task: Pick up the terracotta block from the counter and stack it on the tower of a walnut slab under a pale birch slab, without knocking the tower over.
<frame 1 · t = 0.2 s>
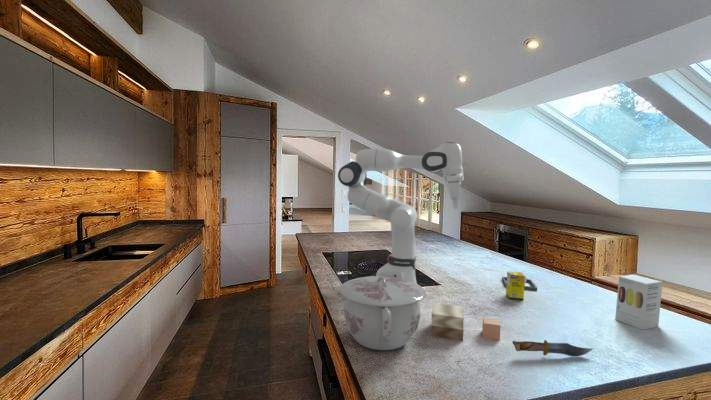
hand: (455, 207, 152), 39 cm above the worktop, tool pointing down, fingers open, 8 cm apart
teacup: (517, 285, 165), resting in grey square frame
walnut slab: (447, 333, 113), on the worktop, touching birch slab
chamber pot: (380, 340, 106), on the worktop
terracotta block: (490, 335, 111), on the worktop
knife: (552, 357, 98), on the worktop
supplement box 2: (636, 323, 122), on the worktop
birch slab: (447, 321, 113), point 4 cm above the worktop, touching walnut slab
grey square frame: (518, 284, 165), on the worktop
supplement box: (514, 297, 147), on the worktop
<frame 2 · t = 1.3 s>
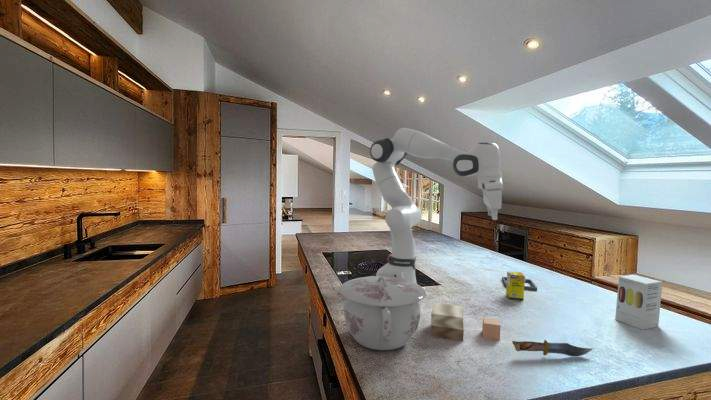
hand: (492, 217, 132), 37 cm above the worktop, tool pointing down, fingers open, 8 cm apart
nothing on the worktop moved.
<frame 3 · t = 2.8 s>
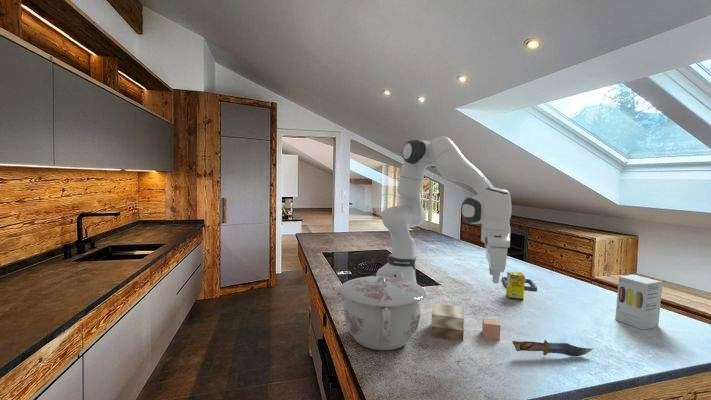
hand: (493, 278, 109), 19 cm above the worktop, tool pointing down, fingers open, 8 cm apart
nothing on the worktop moved.
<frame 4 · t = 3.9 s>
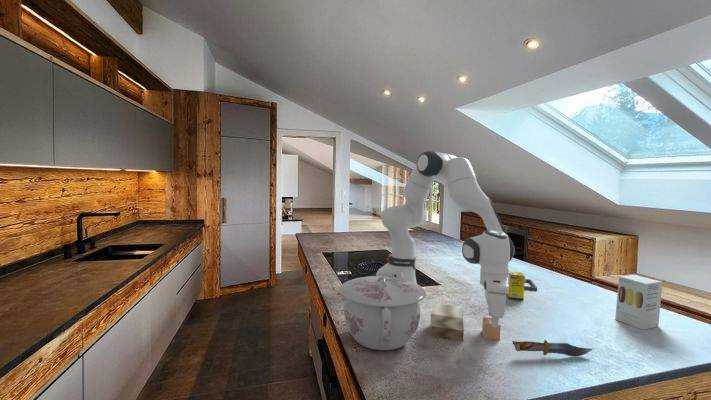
hand: (492, 320, 110), 5 cm above the worktop, tool pointing down, fingers open, 8 cm apart
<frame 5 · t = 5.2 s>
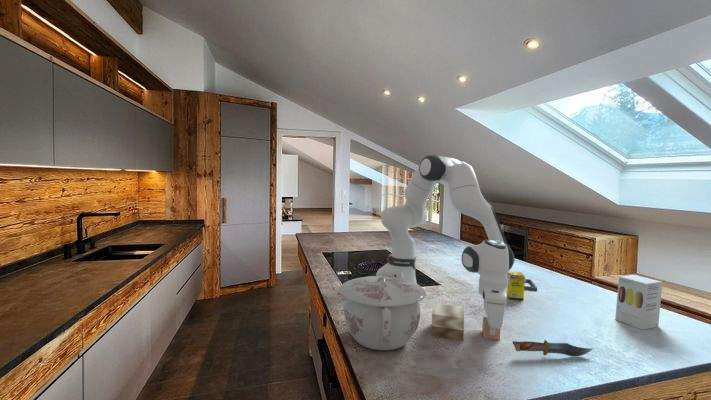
hand: (491, 329, 111), 2 cm above the worktop, tool pointing down, fingers closed on terracotta block, 5 cm apart
terracotta block: (490, 335, 111), on the worktop, touching gripper
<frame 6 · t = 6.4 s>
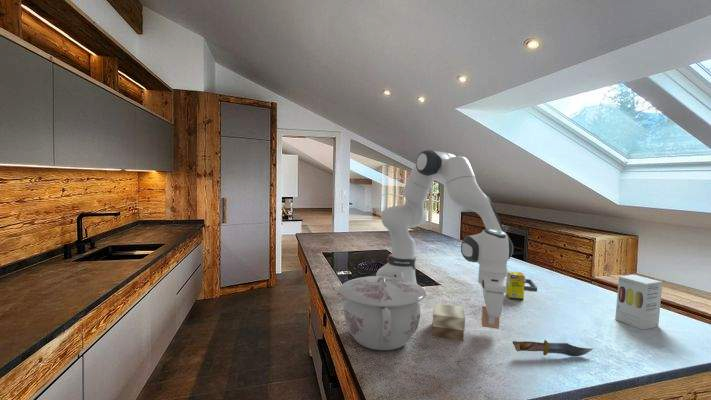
hand: (490, 318, 111), 6 cm above the worktop, tool pointing down, fingers closed on terracotta block, 5 cm apart
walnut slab: (447, 333, 113), on the worktop
terracotta block: (489, 324, 111), point 4 cm above the worktop, touching gripper
birch slab: (448, 321, 112), point 4 cm above the worktop
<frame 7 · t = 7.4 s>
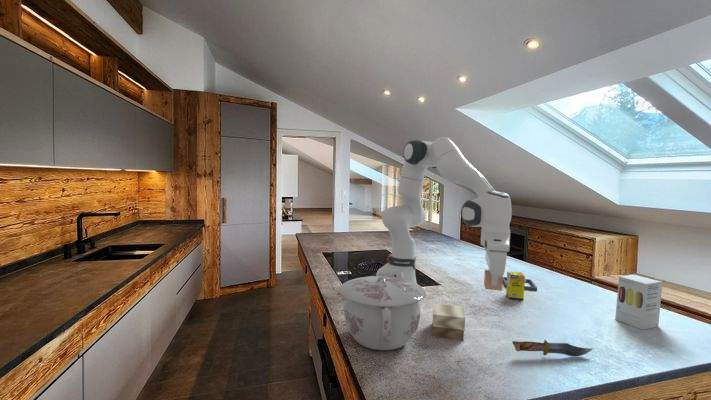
hand: (492, 281, 110), 18 cm above the worktop, tool pointing down, fingers closed on terracotta block, 5 cm apart
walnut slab: (447, 333, 113), on the worktop, touching birch slab
terracotta block: (492, 287, 110), point 16 cm above the worktop, touching gripper
birch slab: (448, 321, 112), point 4 cm above the worktop, touching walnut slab
when the fingers open (12 cm above the worktop, at t = 10.3 s): terracotta block drops 2 cm, resting on birch slab.
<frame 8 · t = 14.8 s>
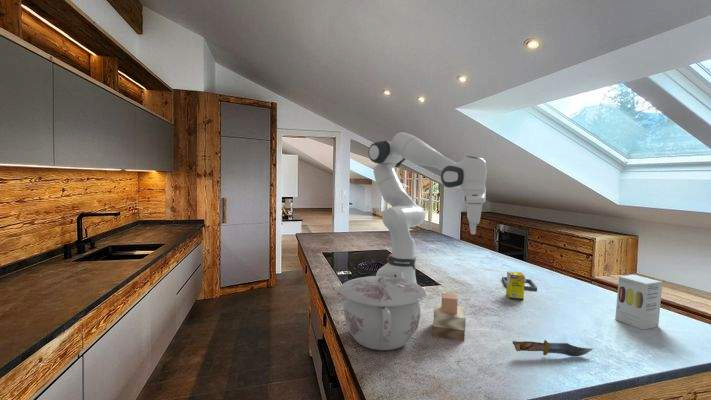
hand: (472, 232, 131), 31 cm above the worktop, tool pointing down, fingers open, 8 cm apart
terracotta block: (449, 310, 112), point 8 cm above the worktop, touching birch slab
birch slab: (449, 321, 112), point 4 cm above the worktop, touching terracotta block, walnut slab
at the end: terracotta block 0.1 cm off-centre on the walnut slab, point 8.0 cm above the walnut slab's base; terracotta block tilted 0°; birch slab 0.1 cm off-centre on the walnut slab, point 4.0 cm above the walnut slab's base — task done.
